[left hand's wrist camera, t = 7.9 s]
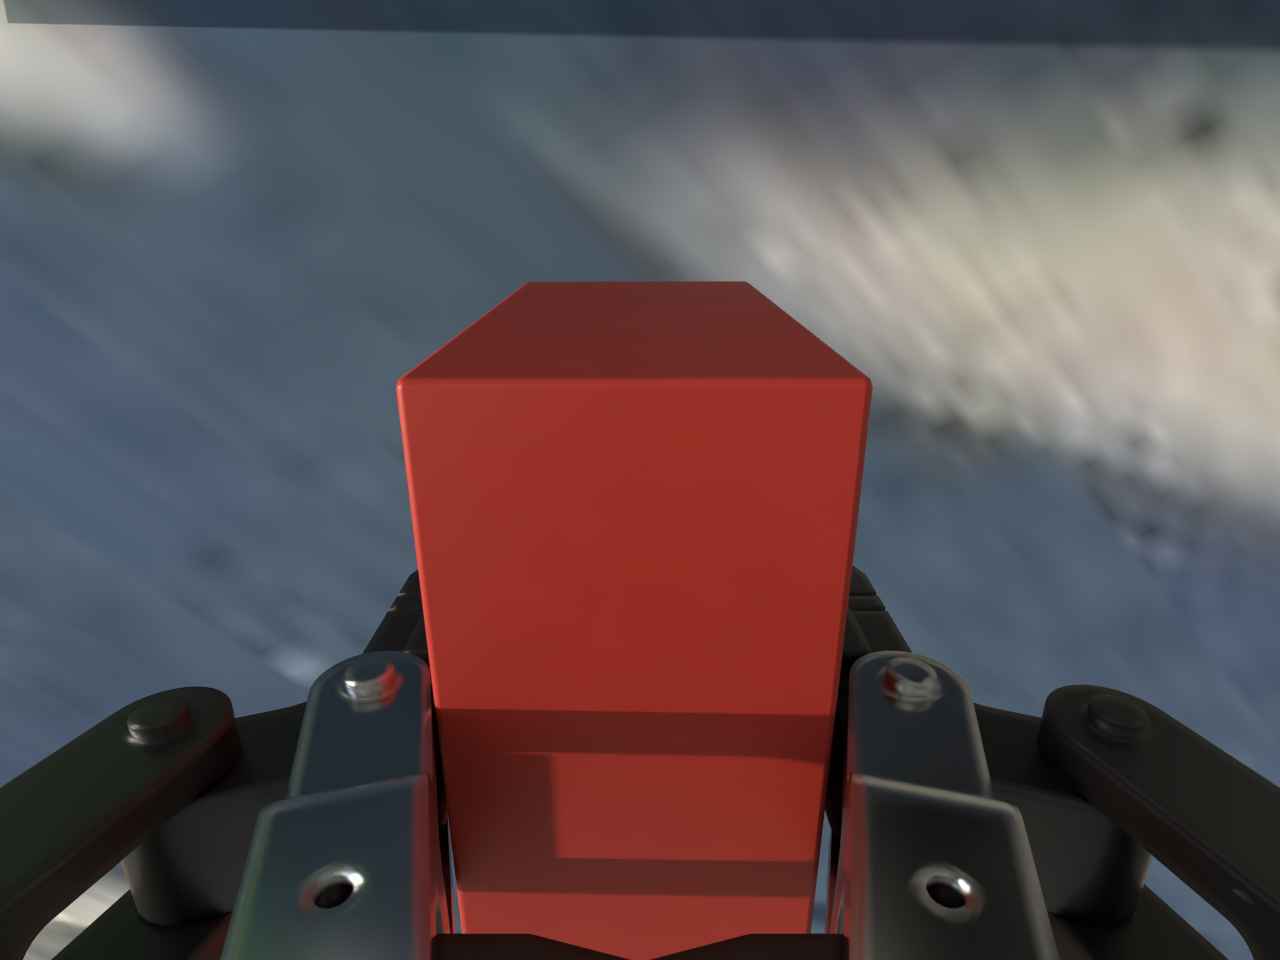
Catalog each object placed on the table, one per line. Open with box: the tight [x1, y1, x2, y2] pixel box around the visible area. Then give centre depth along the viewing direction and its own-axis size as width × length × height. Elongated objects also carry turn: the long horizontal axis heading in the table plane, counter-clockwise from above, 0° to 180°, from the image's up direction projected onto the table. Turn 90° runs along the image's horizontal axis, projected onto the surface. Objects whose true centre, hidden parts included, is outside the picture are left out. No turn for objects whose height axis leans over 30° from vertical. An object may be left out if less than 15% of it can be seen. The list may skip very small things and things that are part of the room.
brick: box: [396, 282, 873, 960], centre depth 11 cm, size 4×9×8 cm, turn 0°
